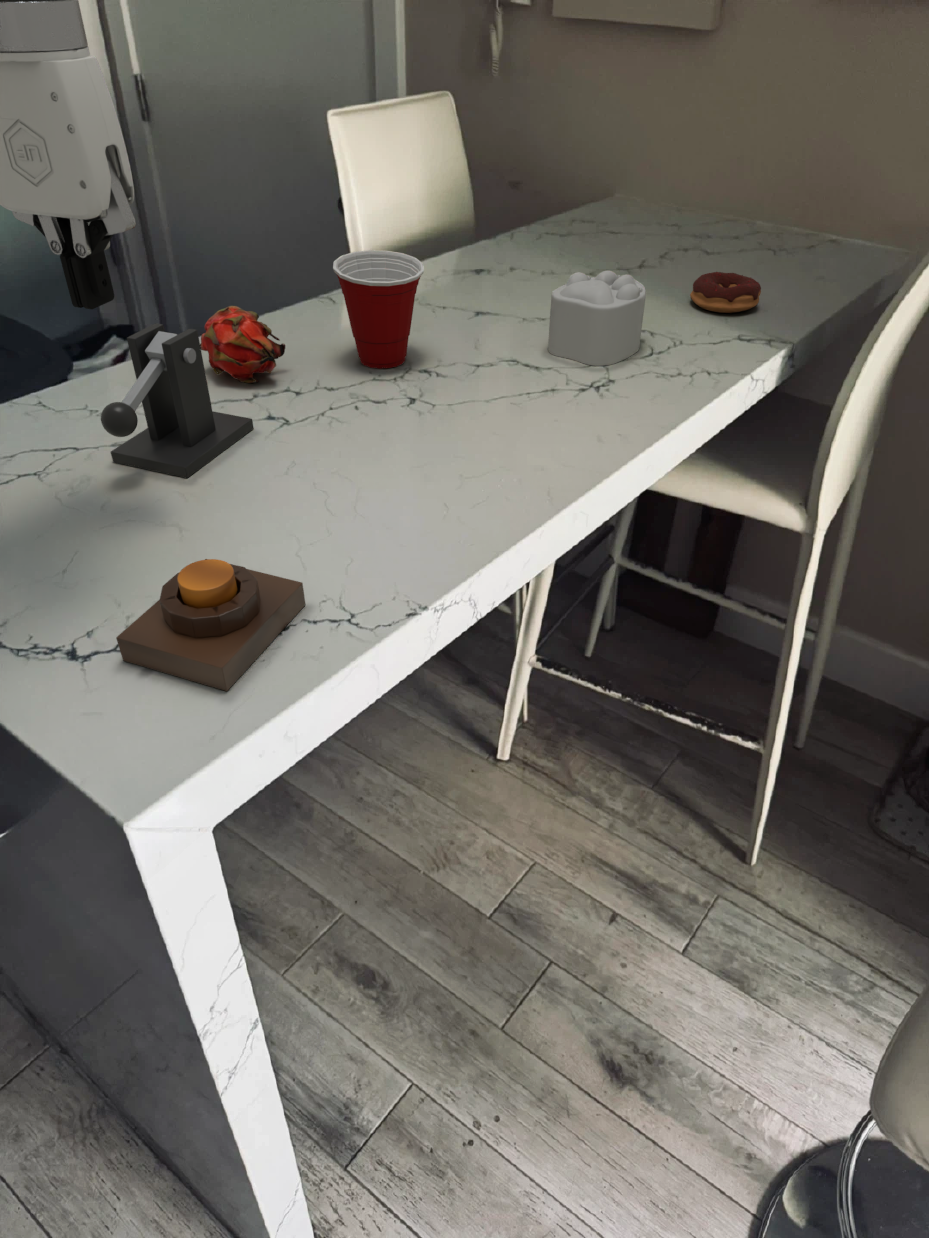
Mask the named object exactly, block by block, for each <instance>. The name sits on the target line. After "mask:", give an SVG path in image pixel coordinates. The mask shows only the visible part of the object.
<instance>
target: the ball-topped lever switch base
mask: <svg viewBox="0 0 929 1238" xmlns="http://www.w3.org/2000/svg"><path fill="white" fill-rule="evenodd" d="M159 331H160V332H166V330H165V326H164V324H162V323H157V322H155V323H153V324H151V325H149V326H147V327H145V328H142V329H141V330H139V331H138V332H135V333H133V334H131V335H129V336H128V337H126V341H127V346H128V349H129V354H130V358H131V362H132V367H133V370H134V375H135V380H137V379H138V378H139V376H140V375H141V373H142V372H143V370H144V369H145V368H146V366H147V365H148V363H149V362H150V359H149V357H148V356H147V354H146V352H145V350H146V348H147V347H148V346H149V344H150V343H151V341H152V340H153V339H154V337H155V336H156V334H157V333H158V332H159ZM200 344H201V341H200V336H199V332H198V329H194V328H188V329H185V330H184V331H182V332H180V333H178V334H177V335H176V336H174V337H173V338H171V339H169V340H167V341H165V342H163V343H162V349H163V353H164V358H165V363H166V367H167V371H162V373H161V374H160V376H159V377H158V379H157V380H156V382H155V383H154V384H153V386H152V387H151V389H150V390H149V392H148V393H147V395H146V396H145V398H144V399H143V401H142V402H141V404H142V408H143V413H144V416H145V421H146V425H147V427H146V428H145V429H144V430H142V431H140V432H139V433H138V434H136V435H134V436H133V437H131V438H130V439H128V440H127V441H124V443H121V444H120V445H118V446H117V447H115V448H114V449H112V450H111V451H110V455H111V459H112V463H115V464H120V465H125V466H129V467H134V468H137V469H143V470H146V471H147V470H148V471H151V472H152V471H153V472H157V473H160V474H161V473H162V474H165V475H166V474H167V475H171V476H174V477H175V476H176V477H180V478H184V479H188V478H189V477H191V476H192V475H194V474H195V473H197V472H198V471H199V470H200V469H202V468H203V467H204V466H206V465H207V464H208V463H210V462H211V461H212V460H214V459H215V458H216V457H218V456H219V455H221V454H222V453H223V452H225V451H226V450H227V449H229V448H230V447H231V446H233V445H234V444H235V443H237V442H238V441H240V440H241V439H242V438H243V437H245V436H246V435H248V434H249V433H250V432H251V431H253V430H254V429H255V427H254V422H253V418H251V417H246V416H241V415H235V414H230V413H223V412H219V411H213V406H212V402H211V396H210V392H209V385H208V381H207V375H206V370H205V364H204V363H205V362H204V359H203V355H202V353H203V352H202V350H201V347H200Z"/></svg>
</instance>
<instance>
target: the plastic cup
mask: <svg viewBox="0 0 929 1238" xmlns="http://www.w3.org/2000/svg"><path fill="white" fill-rule="evenodd" d="M332 264H333V265H332V269H333V272H334V273H335V274H336V276H337V279H338V282H339V285H340V288H341V293H342V295H343V298H344V302H345V308H346V312H347V316H348V320H349V326H350V328H351V333H352V337H353V339H354V342H355V347H356V353H357V355H358V359H359V361H360V363H361V365H363V366H364V367H367V368H371V369H377V370H378V369H380V370H381V369H392V368H397V367H399V366H401V365H403V364H404V363H405V362H406V357H407V355H408V348H409V347H408V345H409V338H410V337H409V336H410V335H411V329H412V321H413V313H414V305H415V300H416V299H415V298H416V294H417V290H418V286H419V282H420V280H421V277H422V276H423V275H424V272H425V266H424V263H423V262H422V261H421V260H419V259H418V258H417V257H415V256H412V255H409V254H406V253H403V252H399V251H398V252H397V251H391V250H384V249H383V250H378V249H375V250H374V249H367V250H357V251H353V252H349V253H346V254H343V255H340V256H339V257H338V258H336V259H335V260H334V261H333V263H332Z"/></svg>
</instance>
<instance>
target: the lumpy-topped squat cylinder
mask: <svg viewBox="0 0 929 1238" xmlns="http://www.w3.org/2000/svg"><path fill="white" fill-rule="evenodd" d="M550 294H551V295H550V310H549V324H548V325H549V326H548V341H547V351H548V353H549V354H551V355H553V356H556V357H560V358H565V359H569V360H572V361H574V362H575V361H576V362H578V363H581V364H584V365H587V366H594V367H595V366H596V367H604V366H610V365H615V364H617V363H620V362H621V361H624V360H626V359H628V358H630V357H631V356H633V355H635V354H636V353H637V352H638V351H639V350H640V345H641V337H642V329H643V322H644V312H645V305H646V297H647V290H646V287H645V285H643V283H641V282H640V281H638V280H636V279H635V278H634V277H633V275H631V274H626V273H625V274H622V275H620V274H616V272H614V271H612V270H607V269H606V270H603V271H601V272H600V273H598V274H596V276H590V275H587V274H586V273H584V272H581V271H576V272H574V273H572V274H571V275H570V276H569V277H568V278H567V281H566V283H565V284H562V285H560V286H559V287H557V288H555V289H553V290H552V291H551V293H550Z"/></svg>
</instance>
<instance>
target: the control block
mask: <svg viewBox="0 0 929 1238" xmlns="http://www.w3.org/2000/svg"><path fill="white" fill-rule="evenodd" d="M207 559H208V558H205V559H204V560H207ZM229 564H230V565H231V566H232V567H233V570H234V574H235V580H236V585H237V593H236V596H235V597H234V598H233V599H232V600H231V601H229V602H227V603H224V604H222V605H219V606H217V607H211V608H199V609H197V608H193V607H190V606H187V605H186V604H185V603H184V602H183V600H182V597H181V593H180V589H179V585H178V580H177V578H178V574H179V572H177V573H176V574H174V575H173V576H172V577H171V578H170V579H169V580H168V581H167V582H165V583H164V584H163V585H162V586H161V587H162V588H161V591H160V596H159V599H158V600H157V601H156V602H154V603H153V604H152V605H151V606H150V607H149V608H148V609H147V610H145V611H144V612H143V613H142V614H140V616H139V617H137V618H136V620H134V621H133V622H132V623H130V625H128V626H127V627H126V628H125V629H124V630H123V631H122V632H121V633H119V634H118V635H116V638H115V639H116V642H117V645H118V649H119V653H120V655H121V658H122V661H123V662H126V663H130V664H132V665H133V664H134V665H137V666H140V667H144V668H147V669H150V670H153V671H157V672H160V673H164V674H167V675H170V676H174V677H177V678H181V679H184V680H188V681H190V682H195V683H198V684H201V685H204V686H207V687H211V688H215V689H218V690H221V691H225V692H228V691H229V690H230V689H231V688H232V687H233V685H235V684H236V682H237V681H238V680H239V679H240V678H241V677H242V676H243V674H244V673H245V672H246V671H247V670H248V669H249V668H250V667H251V666H252V664H253V663H254V662H255V661H256V660H257V659H258V658H259V657H260V656H261V655H262V653H264V652H265V650H266V649H267V648H268V647H269V645H271V643H273V641H275V639H276V638H277V637H278V636H279V635H280V634H281V633H282V631H283V630H284V629H285V628H286V627H287V626H288V625H289V624H290V623H291V622H292V621H293V619H294V618H296V616H297V615H299V613H300V612H301V610H303V608H304V607H305V606H306V598H305V592H304V591H305V590H304V583H303V581H298V580H294V579H290V578H285V577H282V576H279V575H273V574H271V573H270V574H269V573H265V572H261V571H257V570H253V569H249V568H246V567H245V566H240V565H236V564H232V563H229Z"/></svg>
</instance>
